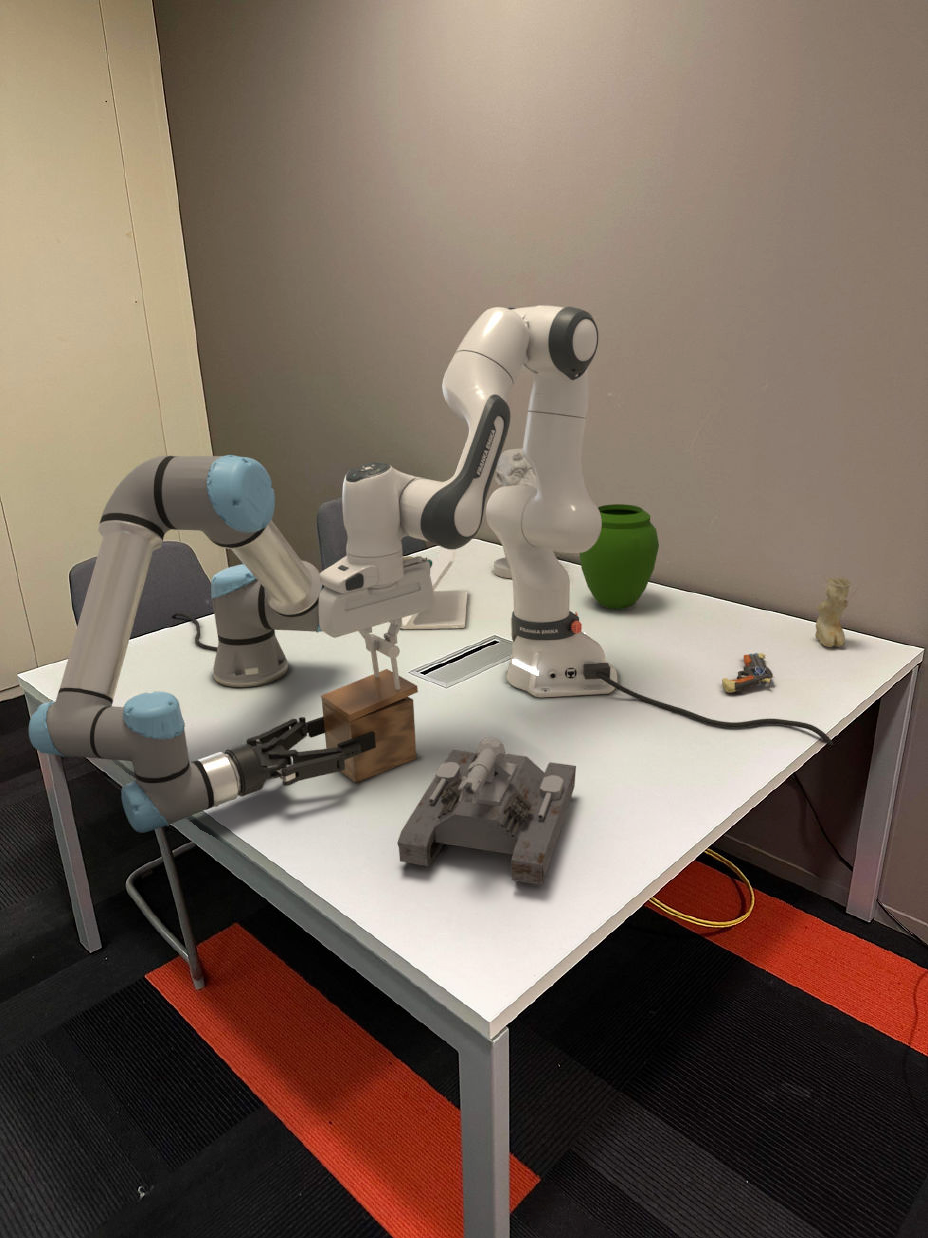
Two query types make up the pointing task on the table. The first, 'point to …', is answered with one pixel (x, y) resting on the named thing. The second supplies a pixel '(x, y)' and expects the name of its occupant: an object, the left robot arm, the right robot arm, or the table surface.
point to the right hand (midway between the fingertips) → (381, 647)
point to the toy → (491, 809)
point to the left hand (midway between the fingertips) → (358, 728)
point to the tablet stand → (441, 601)
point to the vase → (621, 556)
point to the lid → (371, 687)
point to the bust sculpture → (512, 473)
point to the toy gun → (749, 674)
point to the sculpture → (832, 613)
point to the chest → (390, 738)
